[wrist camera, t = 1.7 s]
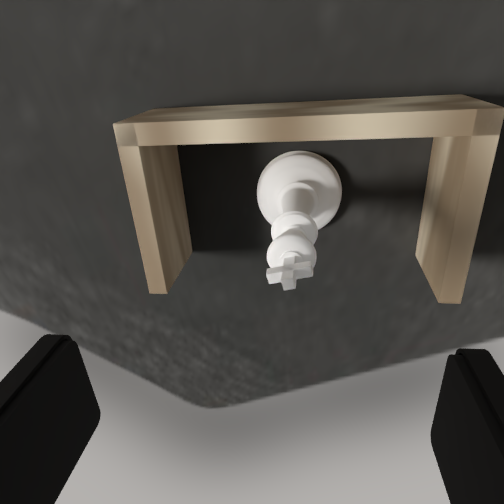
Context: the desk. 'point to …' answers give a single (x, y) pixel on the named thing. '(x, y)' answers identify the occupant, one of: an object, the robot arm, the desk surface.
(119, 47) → the desk surface
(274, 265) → the chess piece
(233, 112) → the open-side wooden frame
